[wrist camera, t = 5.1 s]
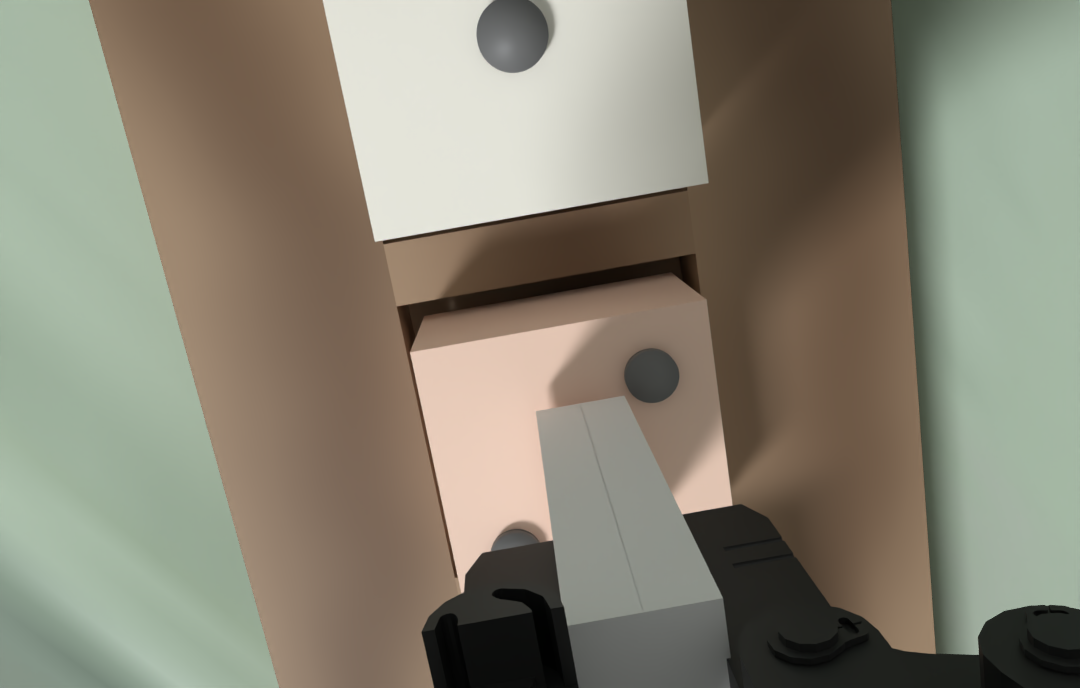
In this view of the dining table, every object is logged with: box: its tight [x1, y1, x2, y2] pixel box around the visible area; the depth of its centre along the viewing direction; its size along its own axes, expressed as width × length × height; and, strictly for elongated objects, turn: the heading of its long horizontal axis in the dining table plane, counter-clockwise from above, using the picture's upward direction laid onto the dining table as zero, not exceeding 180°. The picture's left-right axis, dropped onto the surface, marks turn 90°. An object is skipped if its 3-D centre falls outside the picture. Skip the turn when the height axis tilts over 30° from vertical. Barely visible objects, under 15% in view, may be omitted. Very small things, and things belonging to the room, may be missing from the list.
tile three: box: [410, 272, 732, 593], centre depth 16 cm, size 5×5×3 cm
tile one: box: [323, 0, 709, 242], centre depth 14 cm, size 5×5×3 cm
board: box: [89, 0, 936, 688], centre depth 18 cm, size 14×22×2 cm, turn 10°
